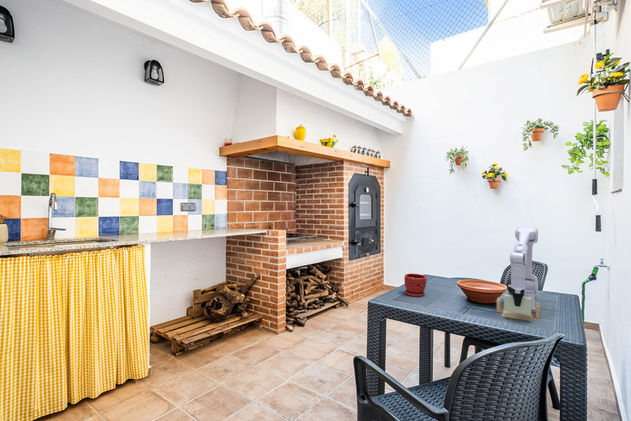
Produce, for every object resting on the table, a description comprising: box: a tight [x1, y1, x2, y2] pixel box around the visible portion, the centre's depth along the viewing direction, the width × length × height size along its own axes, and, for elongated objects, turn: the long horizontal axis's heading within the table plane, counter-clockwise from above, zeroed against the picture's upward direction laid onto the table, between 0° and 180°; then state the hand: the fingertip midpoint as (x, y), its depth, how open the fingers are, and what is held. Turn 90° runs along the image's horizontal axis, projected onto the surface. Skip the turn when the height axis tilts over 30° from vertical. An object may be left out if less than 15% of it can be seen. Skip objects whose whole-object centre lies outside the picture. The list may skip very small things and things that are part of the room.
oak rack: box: [496, 297, 541, 320], centre depth 168 cm, size 7×18×6 cm, turn 58°
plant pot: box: [404, 273, 427, 297], centre depth 202 cm, size 13×13×12 cm
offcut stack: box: [501, 310, 534, 322], centre depth 162 cm, size 4×13×3 cm, turn 59°
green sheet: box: [503, 293, 532, 315], centre depth 158 cm, size 4×11×8 cm, turn 58°
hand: (517, 305), depth 158 cm, fingers closed on green sheet, 4 cm apart
